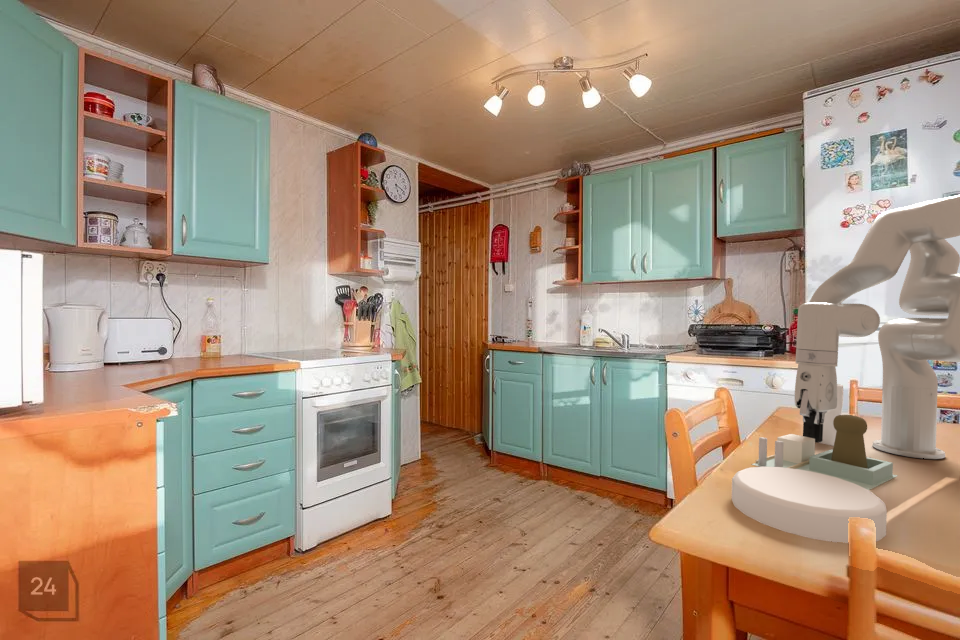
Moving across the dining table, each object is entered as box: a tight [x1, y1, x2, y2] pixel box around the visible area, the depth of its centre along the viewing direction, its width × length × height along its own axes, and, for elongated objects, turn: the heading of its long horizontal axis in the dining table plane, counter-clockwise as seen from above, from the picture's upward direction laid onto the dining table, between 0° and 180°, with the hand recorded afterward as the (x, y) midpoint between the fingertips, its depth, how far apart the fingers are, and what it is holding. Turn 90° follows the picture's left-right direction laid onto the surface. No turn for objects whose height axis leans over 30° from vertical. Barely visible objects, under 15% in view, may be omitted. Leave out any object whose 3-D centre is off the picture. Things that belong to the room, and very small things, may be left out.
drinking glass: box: [818, 383, 844, 447], centre depth 114 cm, size 7×7×15 cm
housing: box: [776, 433, 816, 464], centre depth 98 cm, size 6×5×4 cm
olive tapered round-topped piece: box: [831, 414, 868, 469], centre depth 90 cm, size 6×6×11 cm
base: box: [751, 436, 898, 491], centre depth 91 cm, size 18×18×7 cm
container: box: [731, 466, 888, 544], centre depth 73 cm, size 20×20×5 cm
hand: (812, 440), depth 102 cm, fingers closed
